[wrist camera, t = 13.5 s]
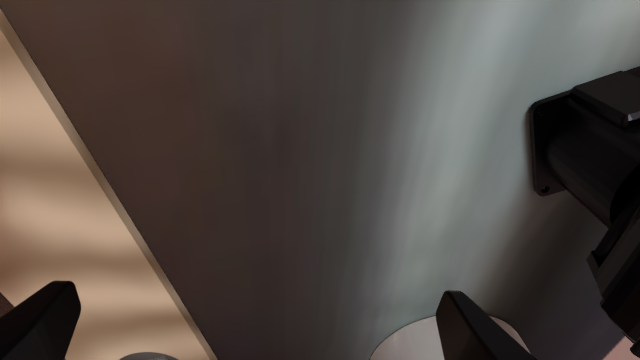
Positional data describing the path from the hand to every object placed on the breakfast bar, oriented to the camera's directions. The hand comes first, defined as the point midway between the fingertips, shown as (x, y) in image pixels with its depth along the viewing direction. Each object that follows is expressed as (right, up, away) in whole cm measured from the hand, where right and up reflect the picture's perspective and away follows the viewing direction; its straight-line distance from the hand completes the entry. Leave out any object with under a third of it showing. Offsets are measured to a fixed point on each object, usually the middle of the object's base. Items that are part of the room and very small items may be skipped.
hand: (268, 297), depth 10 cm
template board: (-15, -2, +16) cm, 22 cm away
